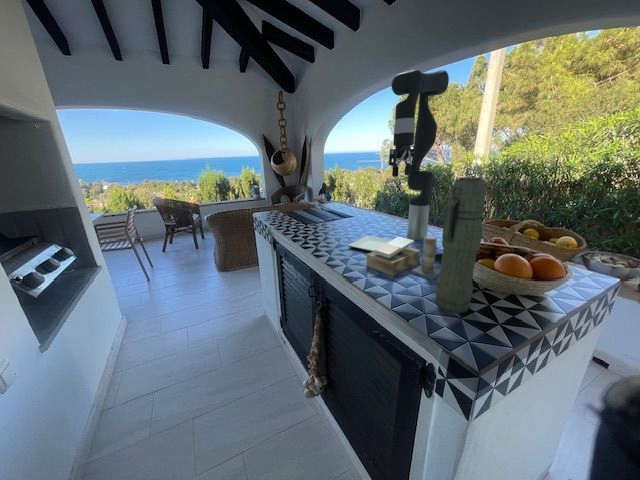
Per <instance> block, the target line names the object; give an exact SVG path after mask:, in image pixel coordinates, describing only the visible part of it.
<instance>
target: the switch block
mask: <svg viewBox="0 0 640 480" xmlns="http://www.w3.org/2000/svg"><path fill="white" fill-rule="evenodd" d="M420 261H421V249H416V248H413V247H410V246H409V247H407V248H405V249H404V250H402V251H400V252H399V253H397V254H396V255H394V256H392V257H391V258H387V257H384V256H381V255H377V254H374V252H369V253H366V267H368V268H371V269H373V270H375V271H378V272H381V273H384V274H386V275H388V276H391V277H393V276H396V275H397V274H399V273H401V272H403V271H406V270H408V269H409V268H411V267H413V266H415V265H417V264H418V263H420Z"/></svg>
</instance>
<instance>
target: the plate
mask: <svg viewBox="0 0 640 480" xmlns="http://www.w3.org/2000/svg"><path fill="white" fill-rule="evenodd" d="M392 240H393V239H391V238H385V237H384V238H383V237H378V236H372V235H366V236H363V237H362V238H359V239H357V240H355V241H353V242H351V243H350V244H347V246H348V247H349V248H353V249H358V250H360V251H365V252H366V251H367V252H369V253H371V252H374V250H375V249H377V248H379V247H381V246H382V245H384V244H386V243H388V242H390V241H392Z"/></svg>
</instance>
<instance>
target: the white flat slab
mask: <svg viewBox="0 0 640 480" xmlns="http://www.w3.org/2000/svg"><path fill="white" fill-rule="evenodd" d="M391 240H392V241H390V242H388V243H386V244H384V245H382V246H381V247H379V248H377V249H375V250H374V254H377V255H381V256H384V257H387V258H391V257H392V256H394V255H396V254H397V253H399V252H400V251H402V250H404V249H405V248H407V247H410V246H412V245H413V244H415V240H413V239H409V238H408V237H406V238H405V237H403V236H402V237H401V236H397V237H395V238H393V239H391Z"/></svg>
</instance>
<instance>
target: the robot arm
mask: <svg viewBox="0 0 640 480" xmlns="http://www.w3.org/2000/svg"><path fill="white" fill-rule="evenodd" d="M449 79H450V77H449V73H448V71H446V70H443V69H441V70H435V71H432V72H431V71H430V72H422V71H421V70H420V69H412V70H408V71H405V72H404V71H403V72H401V73H397V74H396V75H395V76H394V78H393V79H392V81H391V90H392V92H393V93H394V94H395V95H396V96H399V97H400V96H404V95H407V97H406V98H405V99H404V100H402V101H399V102H397V104H396V106H395V115H394V118H395V119H394V126H393V142H392V143H393V146H394V147H395V148H390V149H389V156H388V158H389V159H388V166H391V167H392V174H391V175H392V177H393V178H398V177H399V166H400V164H401V162H404V164H405V166H404V175H405V176H408V177H407V187H408V189H409V190H410V191H421V193H420V194H419V195H417V196H413V197H411V198H410V199H409V206H408V207H409V209H408V219H407V232H406V238H407V239H411V240H414V241H415V240H416V241H422V240H423V241H424V238H425V237H428V227H429V226H428V225H429V215H430V214H429V213H430V203H431V199H432V198H431V197H432V190H433V186H434V185H433V184H434V173H433V172H432V171H431V170H421V169H420V168H421V166H422V165H421V164H422V162H423V160H424V158H426V155H427V154H428V153H429V152H430V150H431V149H432V147H433V146H434V144H435V143H436V138H437V130H438V124H437V122H436V121H437V120H436V119H435V117H434V116H433V114H432V111H431V109H430V106H429V98H430V97H433V96H439V95H442V94H444V93H445V92H446V91H447V90H448V87H449ZM417 103H418V112H417V118H416V107H417ZM415 119H417V120H416V121H415ZM411 146H413V147H411Z"/></svg>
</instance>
